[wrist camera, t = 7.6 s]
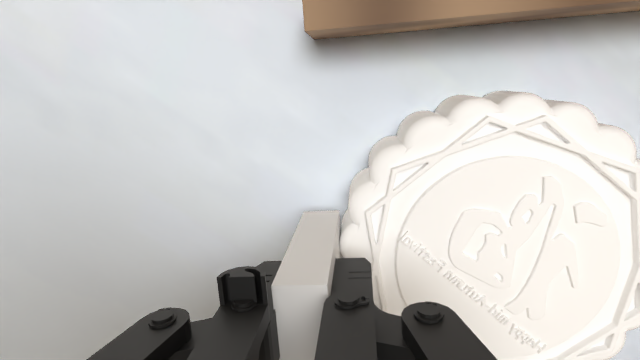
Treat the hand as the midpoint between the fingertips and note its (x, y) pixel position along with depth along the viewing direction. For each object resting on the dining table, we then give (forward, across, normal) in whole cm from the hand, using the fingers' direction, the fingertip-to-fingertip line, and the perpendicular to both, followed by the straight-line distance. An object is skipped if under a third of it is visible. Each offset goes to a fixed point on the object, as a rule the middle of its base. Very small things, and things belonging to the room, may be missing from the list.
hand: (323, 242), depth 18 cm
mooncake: (+2, +7, 0) cm, 7 cm away
